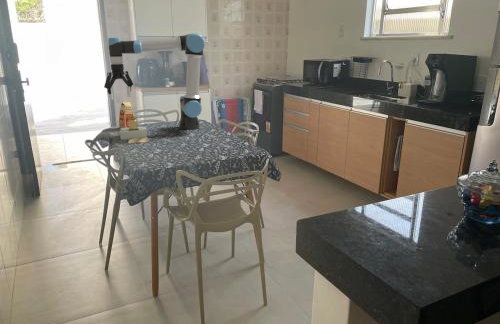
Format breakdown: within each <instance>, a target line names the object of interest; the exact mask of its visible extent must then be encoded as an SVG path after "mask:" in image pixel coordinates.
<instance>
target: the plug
mask: <svg viewBox="0 0 500 324" xmlns="http://www.w3.org/2000/svg"><path fill="white" fill-rule="evenodd" d="M129 127H130V131H133V130H137V127H138V121H137V116H134V117H129Z"/></svg>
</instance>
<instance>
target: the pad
mask: <svg viewBox="0 0 500 324" xmlns="http://www.w3.org/2000/svg"><path fill="white" fill-rule="evenodd" d="M149 141H150V139H149V137H147V138H135V139H128V145H131V143H132V144H142V143H143V144H145V143H149Z"/></svg>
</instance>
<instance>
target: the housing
mask: <svg viewBox="0 0 500 324" xmlns="http://www.w3.org/2000/svg"><path fill="white" fill-rule="evenodd" d="M119 130H120V131H119V135H120V136H119V137H120V140H121V141H124V140H129V139H135V138H148V132H147V126H137V130H133V131H130V128H121V129H119Z"/></svg>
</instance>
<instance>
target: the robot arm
mask: <svg viewBox="0 0 500 324" xmlns="http://www.w3.org/2000/svg"><path fill="white" fill-rule="evenodd" d="M107 42H108V43H107V44H108V51H109V63H110V69H111V72H109V71H107V73H106V75H107V76H106V78H105V82H104V83H105V84H104V87H103V88H104V89H107V94H108V97H109V100H114V94H113V88H112V87H113V85H114V84H115V81H117V80H121V81H123V82H124V83H125V85H126V94H127V97H129V98H131V97H132V94H131V92H132V86H134V82H133V80H132V78H131V75H130V74H129V71H128V70H125V67H124V58H123V54H129V55H130V54H132V55H133V54H136V55H138V54H142V53H147V52H149V53H150V52H160V51H161V52H163V51H174V50H177V51H180V52H183V51H184V54H185V56H186V57H187V60H186V83H185V84H186V85H185V94H184V95H181V96H180V97H179V106H180V107H179V108H180V118H179V122H178V129H181V130H190V131H191V130H197V129H200V128H201V123H200V121H199V118H198V116H200V115H201V114H202V113H201V112H202V110H203V109H202V108H203V107H202V97H201V96H200V79H201V77H200V75H201V59H202V58H203V56H204V49H205V46H206V41H205V38H204V36H202V35H201V34H199V33H197V32H195V33H194V32H192V33H189V34H184V35H178V36H177V37H168V38H155V39H154V38H153V39H139V40H138V39H137V40H122V39H121V37H108V40H107Z"/></svg>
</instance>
